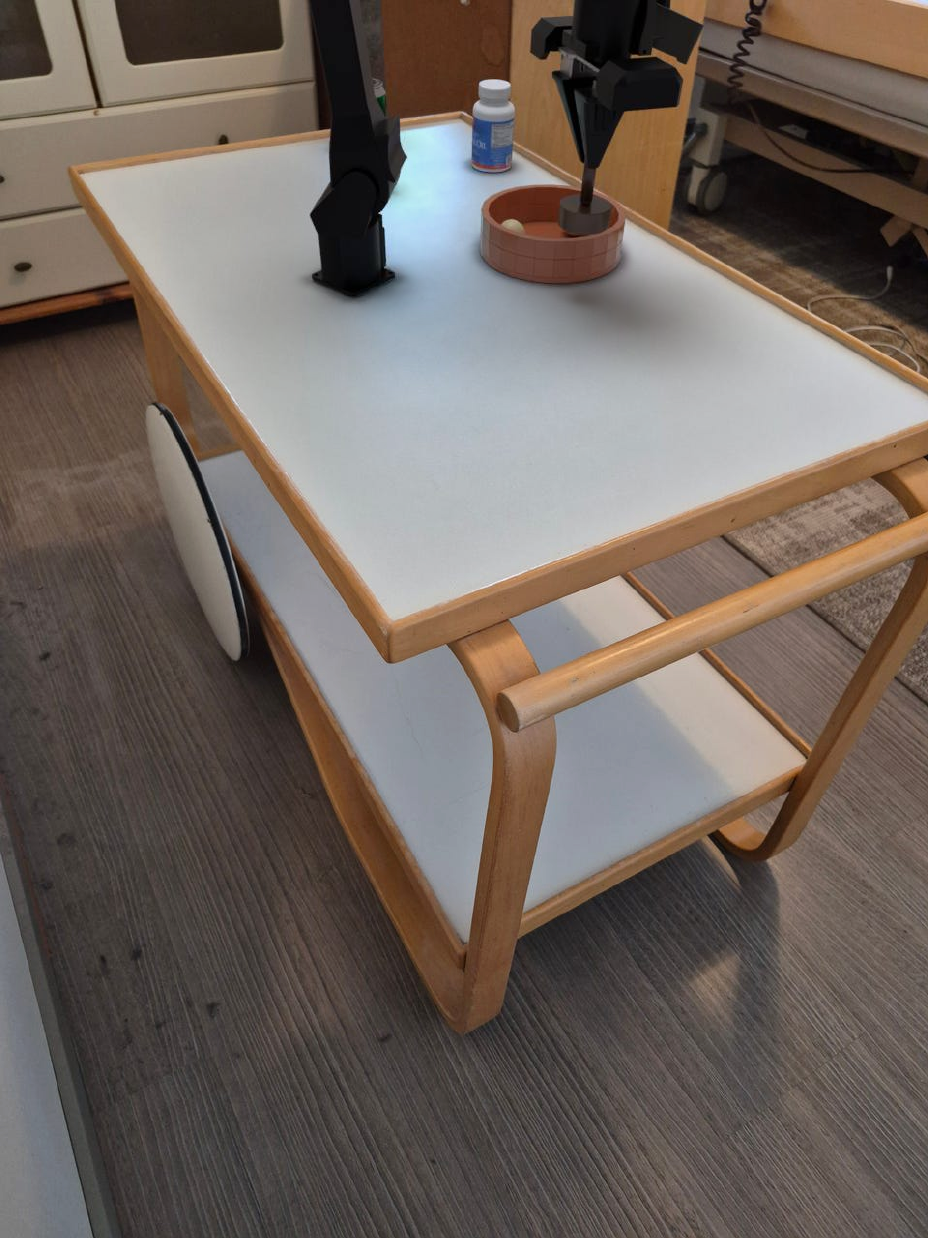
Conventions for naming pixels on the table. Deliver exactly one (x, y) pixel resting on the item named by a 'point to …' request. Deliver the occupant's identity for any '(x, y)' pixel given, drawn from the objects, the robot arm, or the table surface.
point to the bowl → (546, 237)
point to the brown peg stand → (584, 209)
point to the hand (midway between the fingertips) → (589, 165)
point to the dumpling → (513, 225)
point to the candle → (374, 38)
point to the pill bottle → (493, 127)
